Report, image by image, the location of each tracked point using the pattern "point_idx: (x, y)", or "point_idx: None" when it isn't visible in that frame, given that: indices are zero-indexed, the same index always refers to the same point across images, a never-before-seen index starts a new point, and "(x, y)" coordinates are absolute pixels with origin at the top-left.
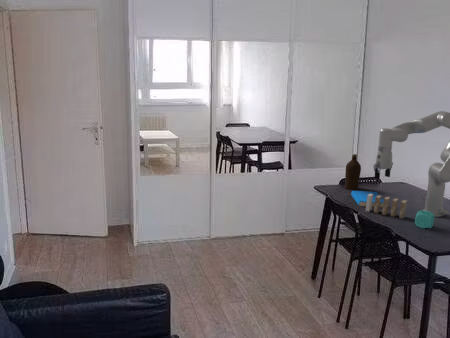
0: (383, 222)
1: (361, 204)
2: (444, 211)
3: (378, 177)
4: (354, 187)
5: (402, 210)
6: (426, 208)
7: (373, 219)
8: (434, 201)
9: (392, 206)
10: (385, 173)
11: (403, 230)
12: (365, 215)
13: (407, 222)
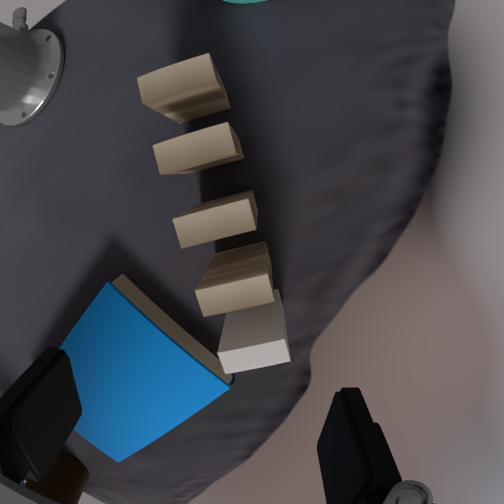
0: (389, 127)
1: (222, 369)
2: (20, 21)
3: (361, 410)
4: (66, 462)
5: (220, 81)
6: (30, 79)
7: (389, 190)
8: (6, 32)
9: (238, 149)
10: (64, 434)
11: (401, 15)
12: (362, 259)
13: (267, 41)
